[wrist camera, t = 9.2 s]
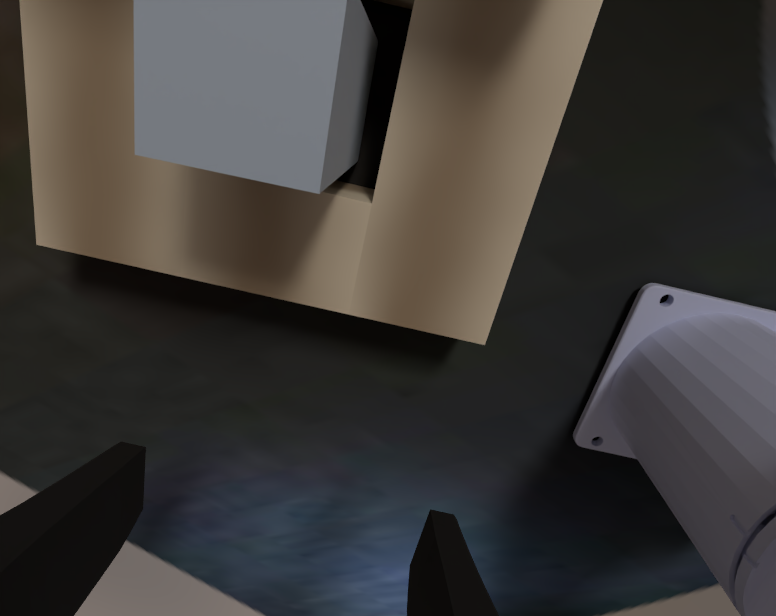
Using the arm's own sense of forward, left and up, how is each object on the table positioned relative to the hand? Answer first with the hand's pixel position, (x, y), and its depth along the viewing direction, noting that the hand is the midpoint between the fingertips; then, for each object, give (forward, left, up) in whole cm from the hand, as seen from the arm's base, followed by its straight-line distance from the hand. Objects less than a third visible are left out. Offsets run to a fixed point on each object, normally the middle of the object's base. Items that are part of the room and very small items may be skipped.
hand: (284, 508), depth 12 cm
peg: (+3, -9, -9) cm, 14 cm away
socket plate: (+3, -10, -9) cm, 14 cm away
